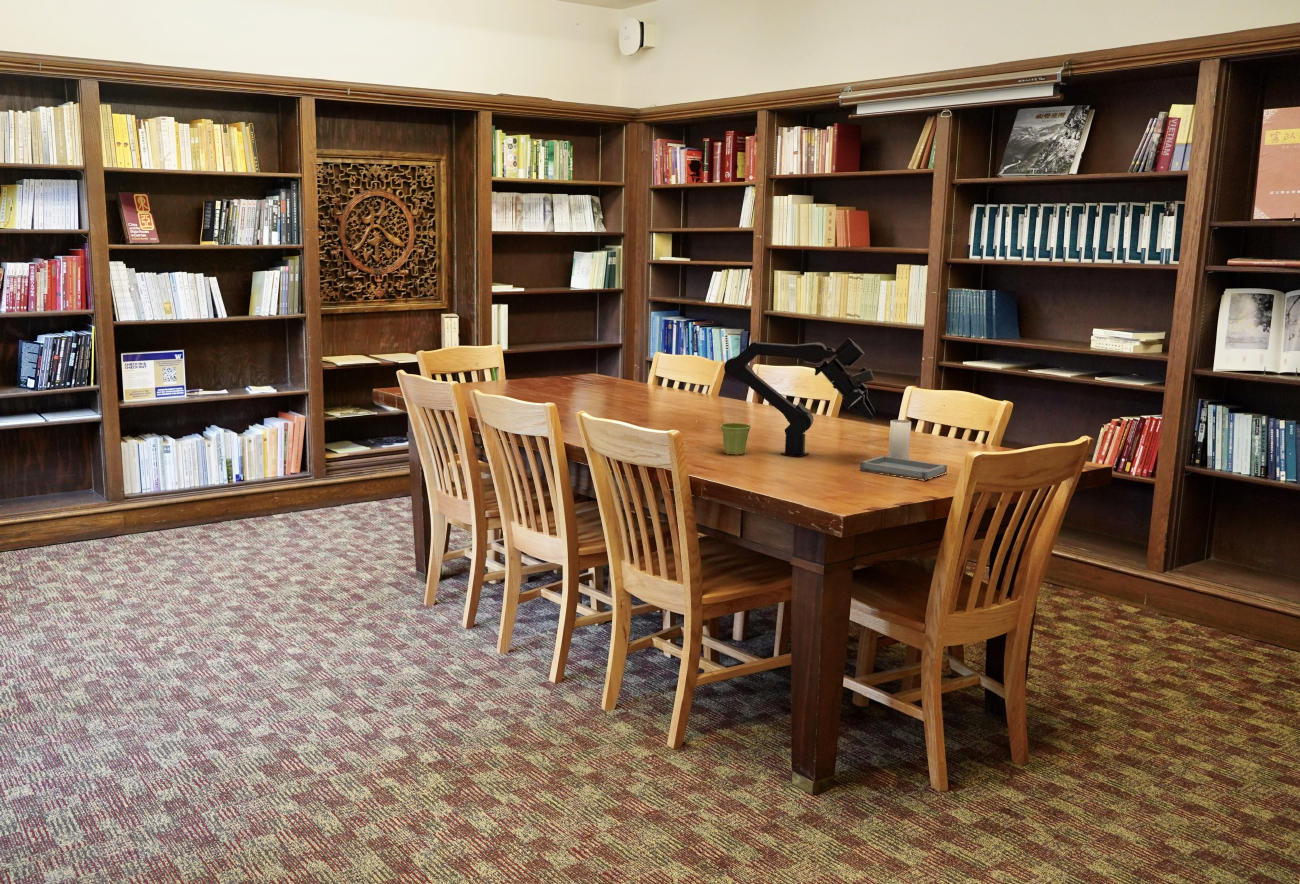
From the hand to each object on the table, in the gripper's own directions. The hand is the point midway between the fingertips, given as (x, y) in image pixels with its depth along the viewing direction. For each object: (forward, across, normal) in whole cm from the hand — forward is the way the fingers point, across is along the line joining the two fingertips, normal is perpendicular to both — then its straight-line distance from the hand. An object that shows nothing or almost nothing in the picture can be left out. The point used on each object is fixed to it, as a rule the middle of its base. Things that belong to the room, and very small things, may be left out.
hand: (873, 416), depth 332 cm
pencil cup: (+15, 0, +4) cm, 16 cm away
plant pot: (-18, -5, +38) cm, 43 cm away
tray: (+17, -14, +2) cm, 22 cm away
